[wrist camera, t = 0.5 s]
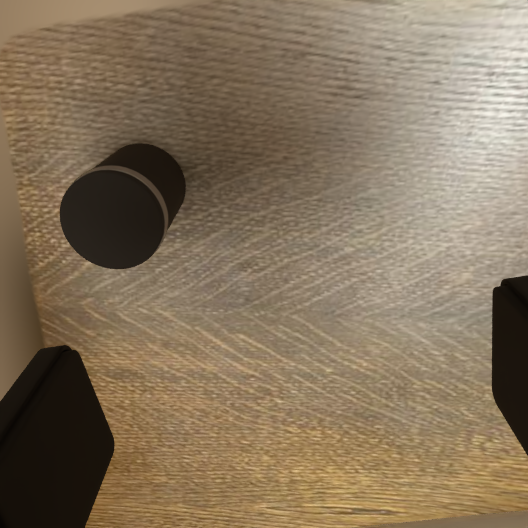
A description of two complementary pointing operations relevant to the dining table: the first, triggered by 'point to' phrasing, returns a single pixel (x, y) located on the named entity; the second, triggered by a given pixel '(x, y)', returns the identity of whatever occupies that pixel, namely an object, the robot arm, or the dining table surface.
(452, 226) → the dining table surface
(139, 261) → the stopper
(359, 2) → the dining table surface
